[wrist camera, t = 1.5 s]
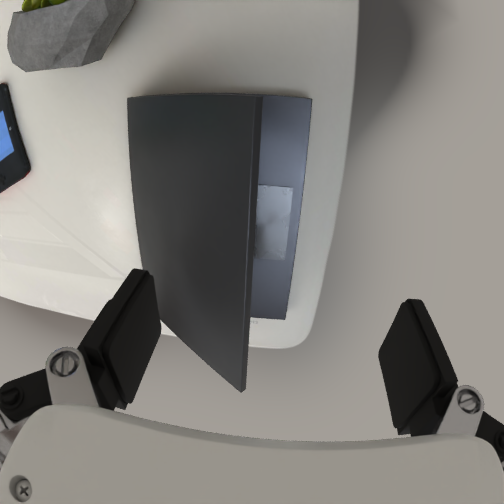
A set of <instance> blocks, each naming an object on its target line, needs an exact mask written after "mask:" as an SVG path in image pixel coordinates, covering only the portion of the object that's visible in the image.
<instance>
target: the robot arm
mask: <svg viewBox="0 0 504 504" xmlns="http://www.w3.org/2000/svg"><path fill="white" fill-rule="evenodd" d="M160 334H161V322H160V316H159V310H158V304H157V297H156V290H155V283H154V277H153V275H150V273H149V271H148V270H141V269H133V270H132V271H131V272H130V274H129V275H128V276H127V278H126V279H125V281H124V282H123V284H122V285H121V286H120V288H119V289H118V291H117V292H116V294H115V295H114V297H113V298H112V299H111V300H109V301H108V302H107V303H106V305H105V306H104V308H103V309H102V311H101V312H100V314H99V315H98V317H97V318H96V320H95V321H94V323H93V324H92V326H91V328H90V329H89V330H88V332H87V334H86V335H85V337H84V338H83V340H82V342H81V343H80V345H79V347H78V348H77V349H75V348H73V347H63V348H60V349H58V350H55V351H54V352H53V353H51V354H50V356H49V357H48V359H47V361H46V368H45V369H42V370H40V371H37V372H34V373H31V374H29V375H26V376H23V377H20V378H18V379H15V380H12V381H9V382H7V383H5V384H4V385H3V386H2V387H1V388H0V504H504V425H503V424H502V423H500V422H499V421H497V420H496V419H494V418H493V417H491V416H490V415H488V414H487V413H486V412H484V411H483V410H484V401H483V398H482V396H481V394H480V393H479V392H478V390H476V389H475V388H474V387H471V386H469V385H463V386H460V387H458V385H457V381H458V380H457V377H456V374H455V372H454V369H453V367H452V364H451V362H450V360H449V357H448V355H447V352H446V350H445V348H444V346H443V343H442V341H441V339H440V337H439V334H438V332H437V330H436V328H435V326H434V324H433V322H432V319H431V317H430V315H429V314H428V311H427V309H426V307H425V305H424V303H423V302H422V300H419V299H407V300H406V301H405V302H403V303H402V304H401V306H400V308H399V310H398V312H397V315H396V317H395V319H394V321H393V323H392V325H391V327H390V329H389V332H388V334H387V336H386V338H385V340H384V342H383V344H382V345H381V347H380V350H379V356H378V357H379V361H380V366H381V370H382V374H383V379H384V383H385V387H386V392H387V396H388V401H389V406H390V411H391V416H392V421H393V425H394V427H395V428H397V431H398V435H404V434H411V437H406V438H395V439H383V440H369V441H345V442H312V441H285V440H271V439H260V438H249V437H241V436H232V435H225V434H218V433H212V432H206V431H200V430H194V429H189V428H184V427H179V426H174V425H170V424H165V423H160V422H156V421H151V420H147V419H143V418H139V417H135V416H132V415H128V414H124V413H120V412H115V411H114V409H115V407H117V408H120V409H124V410H125V409H126V407H127V404H128V403H132V402H133V400H134V397H135V395H136V392H137V390H138V387H139V385H140V382H141V380H142V377H143V375H144V373H145V370H146V367H147V365H148V363H149V360H150V358H151V356H152V353H153V351H154V349H155V346H156V344H157V342H158V339H159V337H160Z"/></svg>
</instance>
